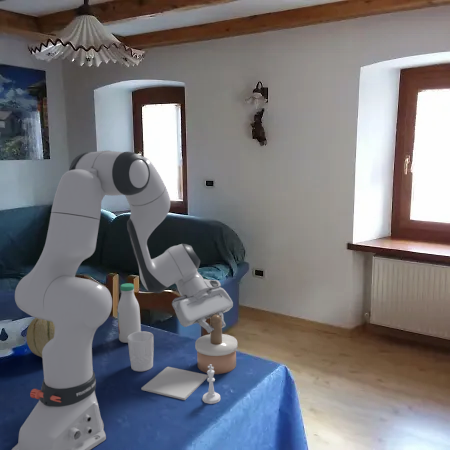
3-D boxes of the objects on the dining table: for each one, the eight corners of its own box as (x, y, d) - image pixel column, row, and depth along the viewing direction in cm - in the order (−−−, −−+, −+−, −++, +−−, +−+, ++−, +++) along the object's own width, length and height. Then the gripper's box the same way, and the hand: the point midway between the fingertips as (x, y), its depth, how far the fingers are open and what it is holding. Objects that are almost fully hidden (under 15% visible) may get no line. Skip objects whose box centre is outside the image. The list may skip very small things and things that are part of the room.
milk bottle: (145, 337, 172) (143, 283, 169) (130, 345, 166) (127, 289, 162) (129, 333, 176) (126, 280, 173) (114, 340, 170) (111, 286, 166)
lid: (226, 359, 141) (226, 325, 139) (187, 351, 146) (186, 319, 144) (243, 341, 152) (243, 310, 151) (207, 335, 158) (206, 305, 156)
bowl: (226, 377, 142) (226, 358, 141) (190, 369, 147) (190, 351, 146) (242, 360, 153) (241, 342, 152) (208, 353, 158) (207, 336, 157)
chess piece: (214, 405, 127) (213, 370, 126) (198, 400, 130) (197, 366, 128) (224, 397, 131) (223, 363, 130) (209, 392, 134) (208, 358, 132)
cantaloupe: (46, 370, 149) (42, 324, 146) (18, 359, 157) (14, 315, 154) (84, 352, 161) (81, 309, 158) (56, 342, 169) (53, 301, 166)
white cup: (149, 373, 146) (148, 342, 144) (125, 371, 147) (123, 340, 145) (158, 361, 153) (157, 332, 151) (135, 360, 155) (133, 330, 153)
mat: (184, 400, 130) (184, 398, 130) (141, 389, 136) (141, 387, 136) (208, 376, 143) (208, 375, 143) (167, 368, 149) (167, 366, 148)
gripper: (173, 294, 144) (196, 334, 139) (222, 279, 158) (244, 315, 153) (165, 305, 148) (187, 344, 142) (213, 289, 162) (234, 325, 157)
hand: (217, 329), depth 148 cm, fingers closed on lid, 4 cm apart
